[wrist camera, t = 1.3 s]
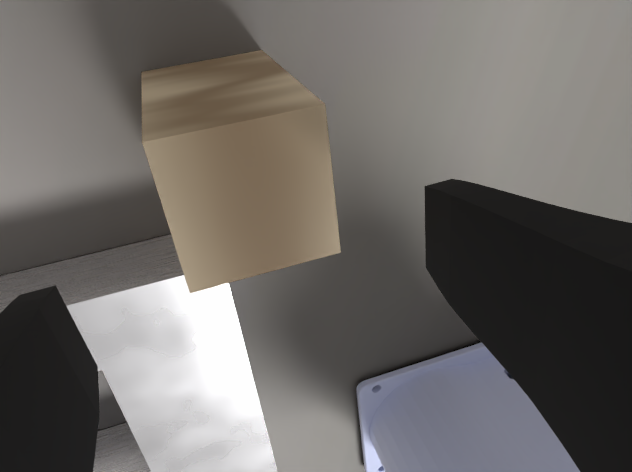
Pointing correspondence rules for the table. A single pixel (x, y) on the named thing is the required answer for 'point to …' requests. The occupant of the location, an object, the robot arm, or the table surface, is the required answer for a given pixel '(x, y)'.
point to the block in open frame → (160, 360)
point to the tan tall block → (239, 167)
